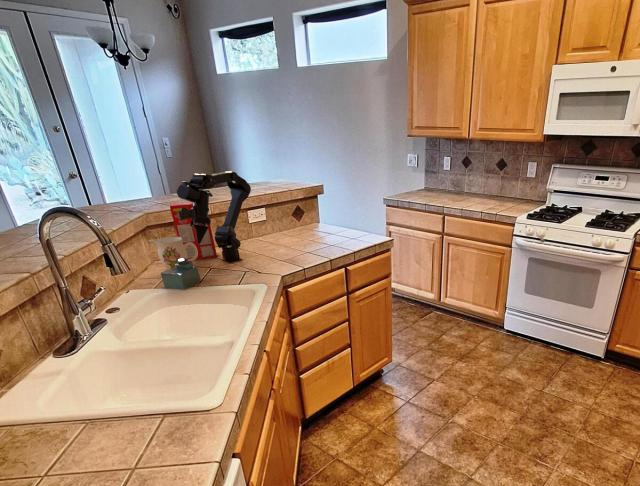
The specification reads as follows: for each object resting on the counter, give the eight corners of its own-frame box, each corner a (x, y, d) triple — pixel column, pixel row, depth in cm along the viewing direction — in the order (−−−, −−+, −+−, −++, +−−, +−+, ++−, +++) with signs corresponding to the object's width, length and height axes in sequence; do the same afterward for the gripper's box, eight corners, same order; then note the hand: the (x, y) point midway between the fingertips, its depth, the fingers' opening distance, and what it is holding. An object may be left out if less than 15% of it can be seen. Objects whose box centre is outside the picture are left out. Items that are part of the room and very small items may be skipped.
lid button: (183, 262, 172) (182, 258, 171) (190, 262, 171) (189, 258, 171) (177, 265, 169) (175, 260, 168) (184, 265, 168) (183, 261, 168)
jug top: (184, 278, 178) (179, 259, 174) (203, 280, 176) (198, 261, 172) (164, 288, 168) (159, 268, 164) (184, 289, 166) (179, 270, 162)
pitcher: (201, 269, 188) (193, 238, 181) (155, 275, 182) (146, 243, 175) (201, 263, 197) (194, 233, 190) (158, 268, 191) (149, 237, 184)
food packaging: (216, 254, 210) (204, 201, 198) (217, 256, 206) (205, 202, 194) (183, 258, 204) (169, 204, 193) (183, 261, 200) (169, 206, 189)
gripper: (177, 204, 181) (176, 242, 182) (180, 197, 165) (178, 238, 166) (206, 209, 187) (204, 245, 188) (211, 203, 171) (209, 242, 172)
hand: (199, 243), depth 178 cm, fingers closed
